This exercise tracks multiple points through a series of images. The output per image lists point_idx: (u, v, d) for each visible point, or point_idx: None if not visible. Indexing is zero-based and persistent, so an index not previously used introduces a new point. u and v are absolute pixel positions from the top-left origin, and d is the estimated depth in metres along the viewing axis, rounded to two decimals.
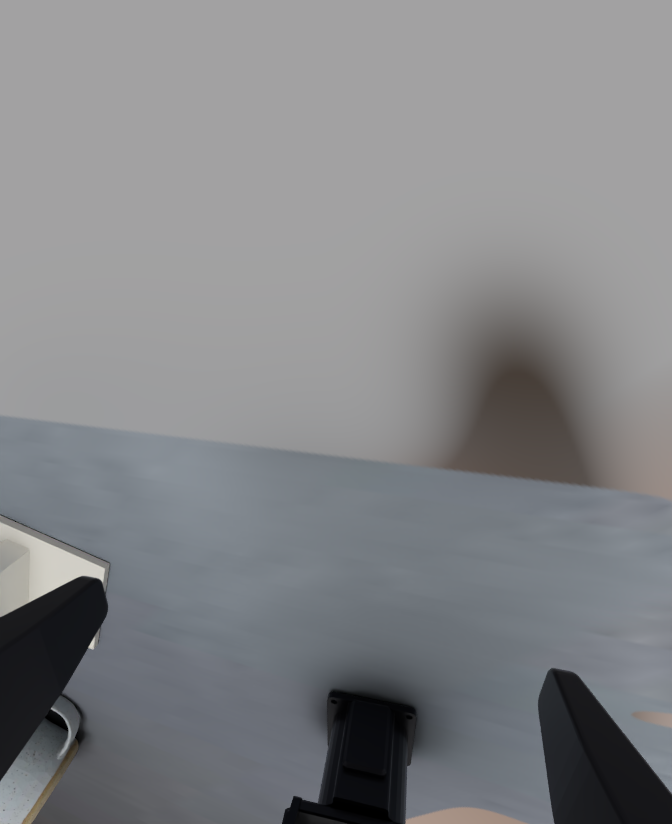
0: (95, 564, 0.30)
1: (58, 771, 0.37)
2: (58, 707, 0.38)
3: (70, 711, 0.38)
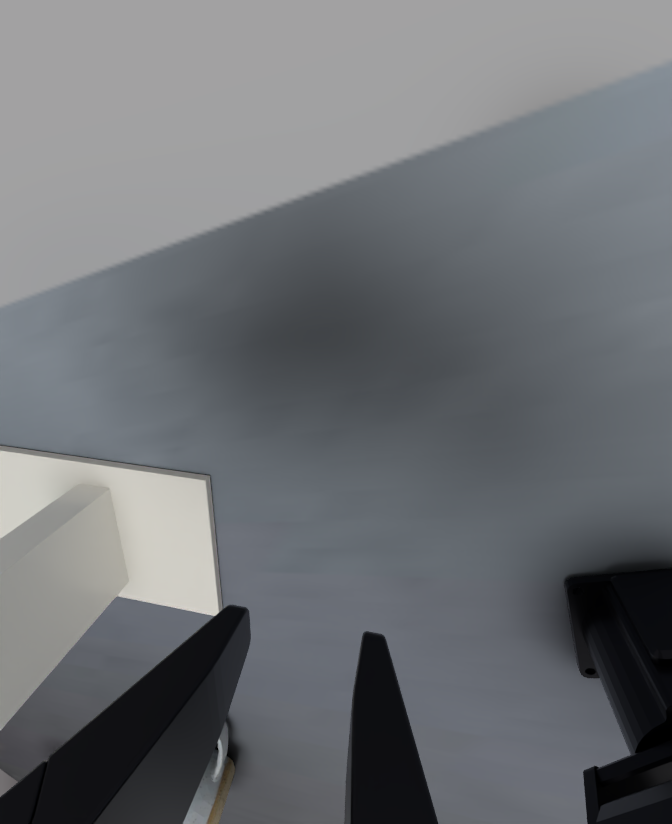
0: (192, 479, 0.22)
1: (218, 797, 0.28)
2: None
3: None
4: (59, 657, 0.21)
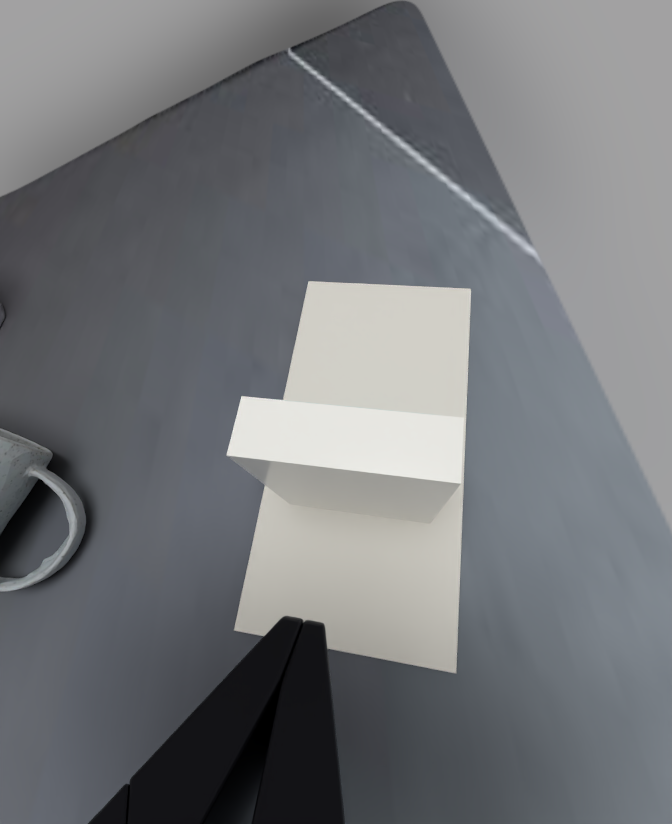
0: (455, 652, 0.18)
1: None
2: (68, 552, 0.21)
3: (55, 571, 0.21)
4: (267, 481, 0.16)
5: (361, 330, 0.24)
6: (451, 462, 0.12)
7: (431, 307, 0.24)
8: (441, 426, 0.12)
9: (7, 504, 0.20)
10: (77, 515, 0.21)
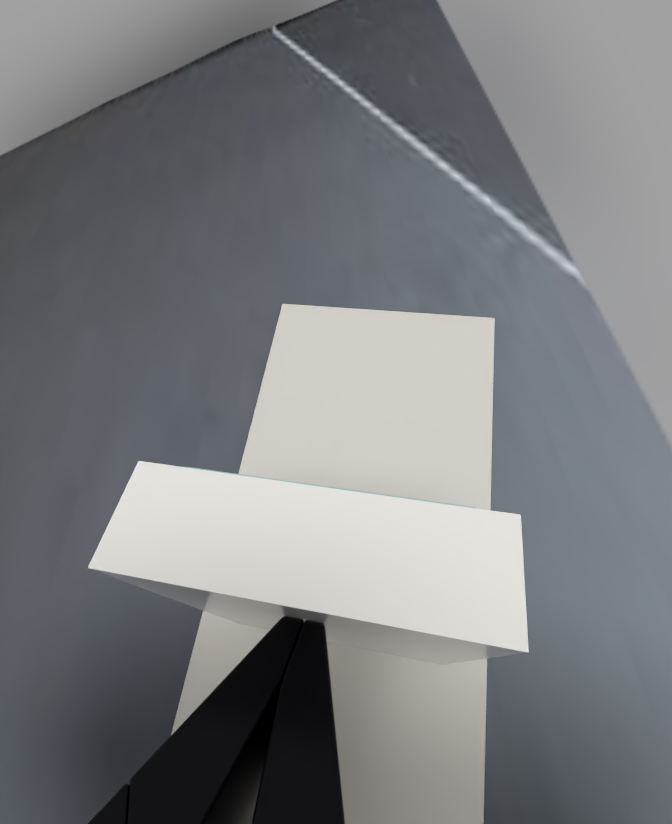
0: None
1: None
2: None
3: None
4: (186, 602, 0.10)
5: (349, 371, 0.18)
6: (505, 604, 0.06)
7: (442, 342, 0.18)
8: (481, 529, 0.07)
9: None
10: None
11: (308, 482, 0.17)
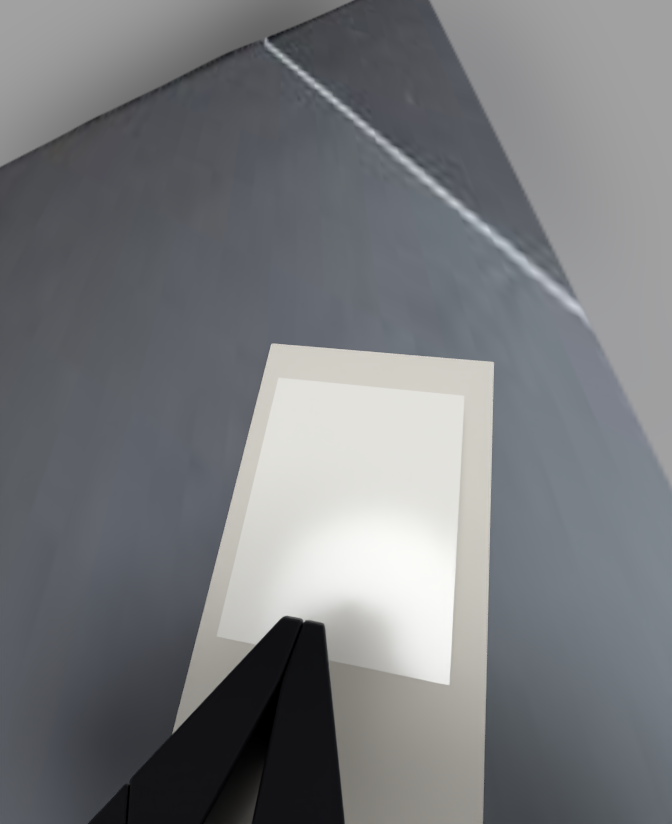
0: None
1: None
2: None
3: None
4: (265, 466, 0.15)
5: None
6: None
7: (438, 388, 0.17)
8: None
9: None
10: None
11: None
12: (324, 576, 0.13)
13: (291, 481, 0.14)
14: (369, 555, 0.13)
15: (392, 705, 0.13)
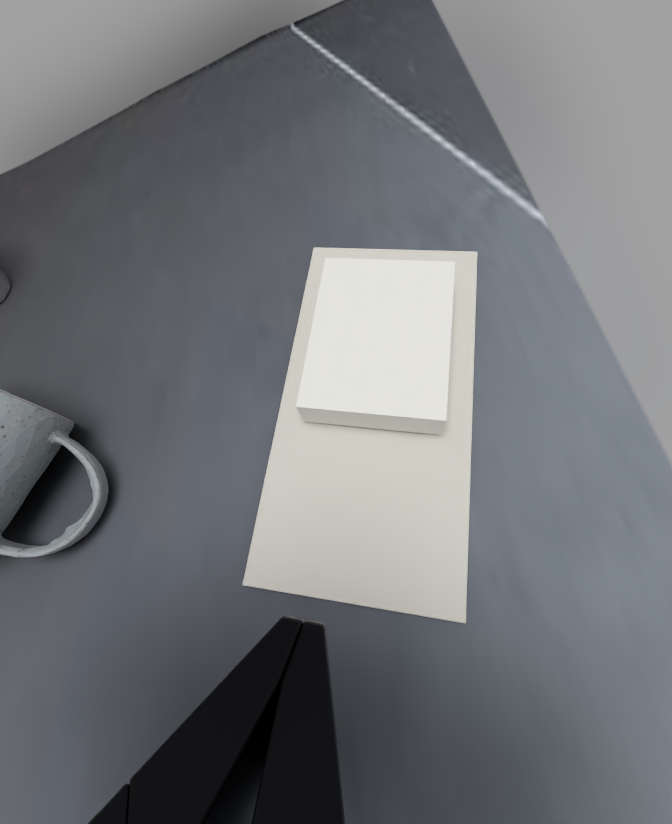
0: (464, 603, 0.18)
1: None
2: (92, 519, 0.20)
3: (79, 538, 0.21)
4: (320, 311, 0.21)
5: None
6: None
7: None
8: None
9: (30, 470, 0.20)
10: (100, 482, 0.21)
11: None
12: (364, 370, 0.20)
13: (338, 318, 0.21)
14: (393, 356, 0.20)
15: (409, 458, 0.20)
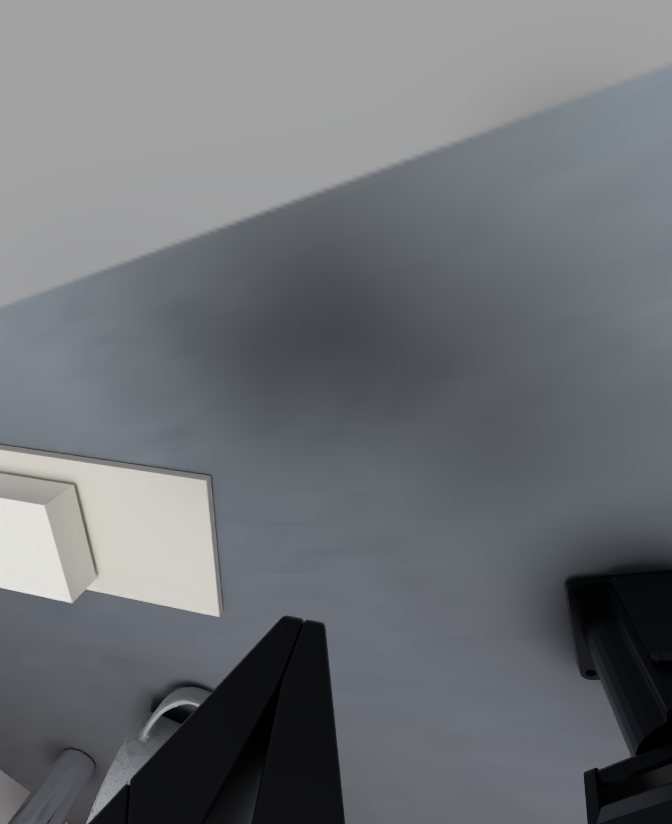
0: (193, 479, 0.22)
1: None
2: (200, 701, 0.29)
3: None
4: None
5: None
6: None
7: None
8: None
9: None
10: (174, 700, 0.29)
11: None
12: (27, 557, 0.24)
13: None
14: (8, 536, 0.23)
15: (100, 506, 0.24)
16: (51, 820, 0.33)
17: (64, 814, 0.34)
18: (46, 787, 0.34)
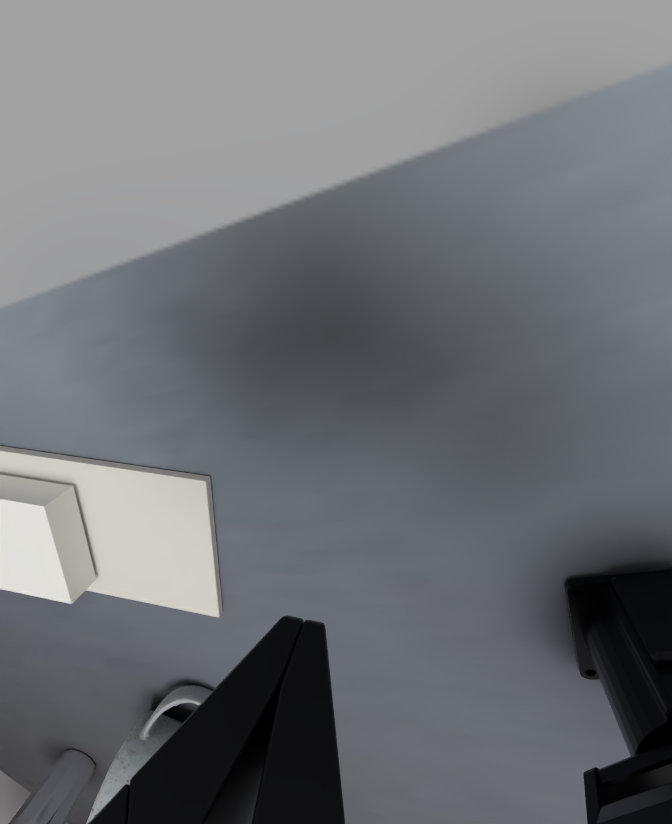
0: (192, 479, 0.22)
1: None
2: (201, 699, 0.29)
3: None
4: None
5: None
6: None
7: None
8: None
9: None
10: (175, 698, 0.29)
11: None
12: (26, 558, 0.24)
13: None
14: (8, 537, 0.23)
15: (100, 507, 0.24)
16: (51, 821, 0.33)
17: (64, 815, 0.34)
18: (47, 787, 0.34)
